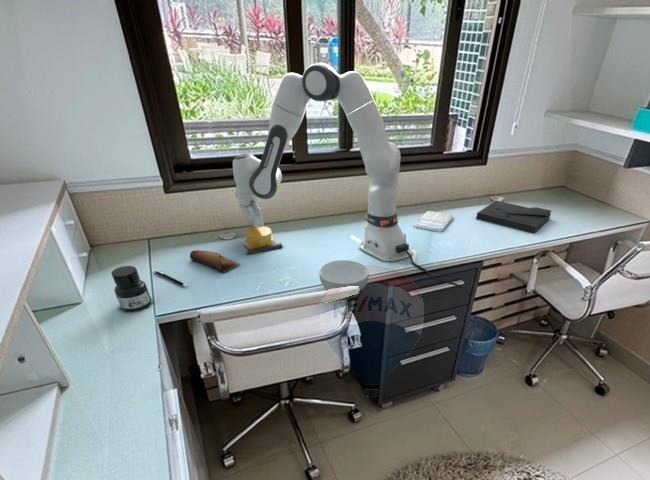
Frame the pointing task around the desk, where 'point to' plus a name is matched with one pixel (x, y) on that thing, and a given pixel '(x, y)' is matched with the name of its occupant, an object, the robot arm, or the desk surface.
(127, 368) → the desk surface
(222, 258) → the sunglasses case
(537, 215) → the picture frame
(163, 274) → the pen
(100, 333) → the desk surface
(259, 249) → the strip
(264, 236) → the glazed bowl
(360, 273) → the cereal bowl
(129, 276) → the ink bottle
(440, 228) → the white folded towel
